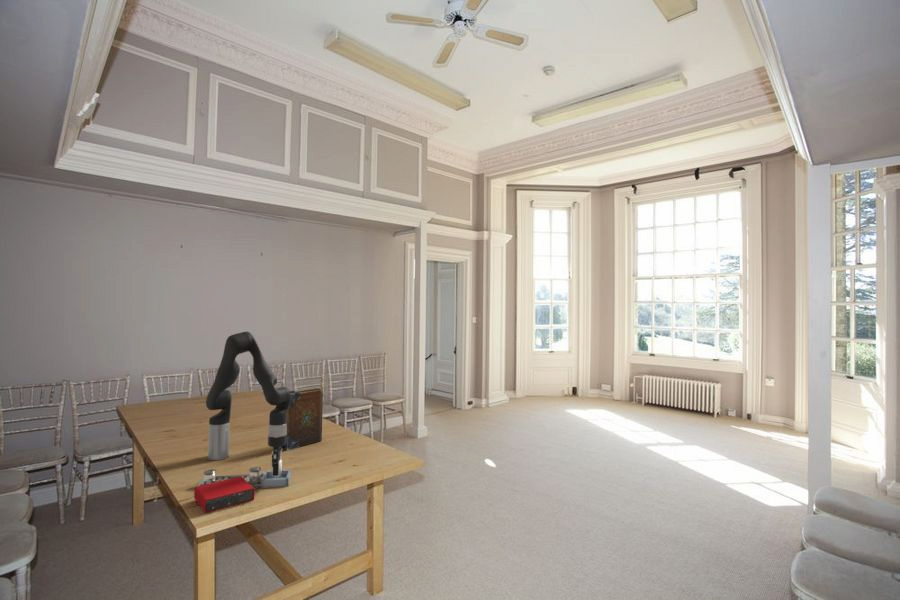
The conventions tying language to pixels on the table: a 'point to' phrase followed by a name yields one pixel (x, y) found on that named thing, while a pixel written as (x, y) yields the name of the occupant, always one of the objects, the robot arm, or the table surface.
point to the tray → (275, 479)
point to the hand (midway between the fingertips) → (276, 473)
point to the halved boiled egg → (279, 469)
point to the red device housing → (223, 494)
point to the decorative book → (304, 418)
